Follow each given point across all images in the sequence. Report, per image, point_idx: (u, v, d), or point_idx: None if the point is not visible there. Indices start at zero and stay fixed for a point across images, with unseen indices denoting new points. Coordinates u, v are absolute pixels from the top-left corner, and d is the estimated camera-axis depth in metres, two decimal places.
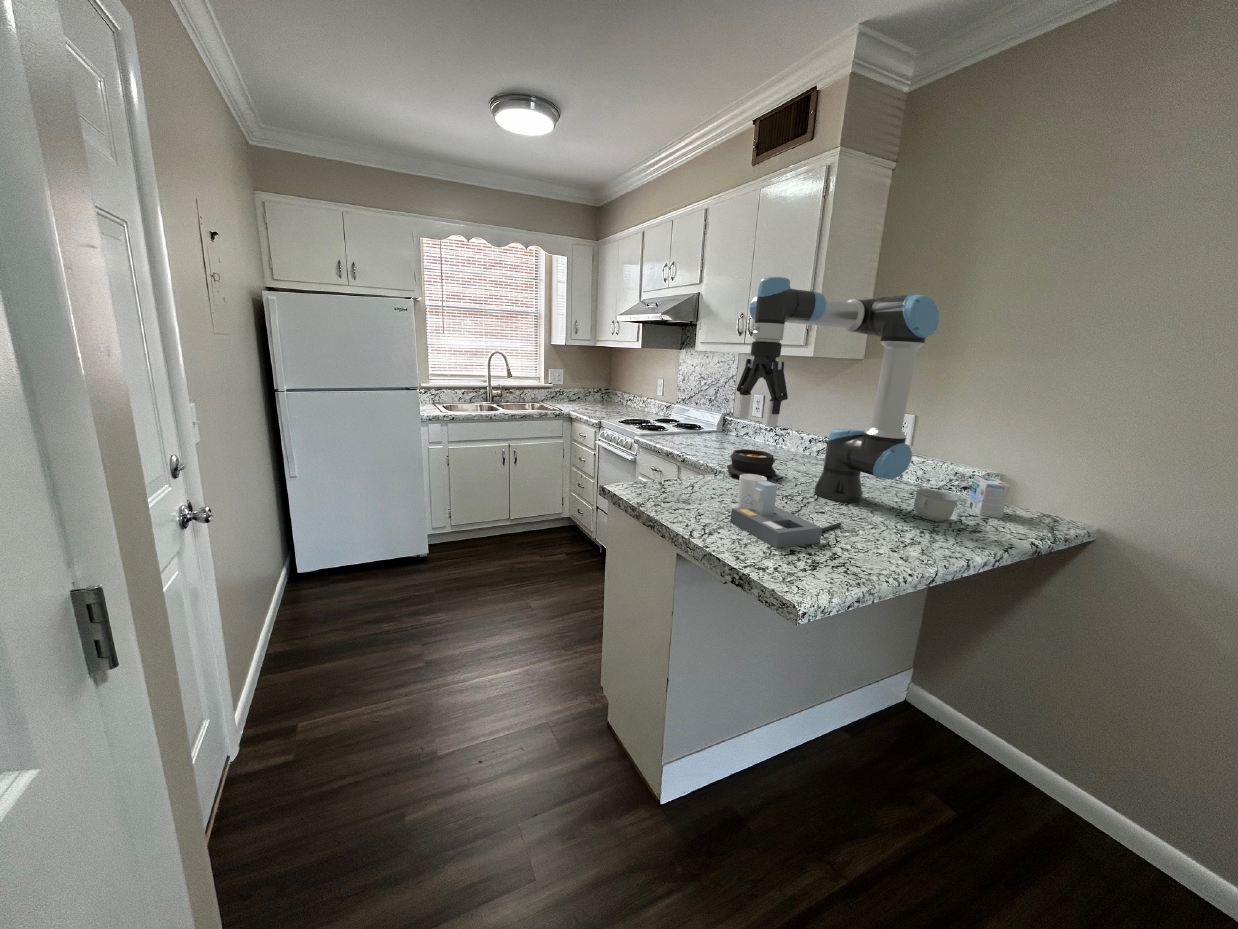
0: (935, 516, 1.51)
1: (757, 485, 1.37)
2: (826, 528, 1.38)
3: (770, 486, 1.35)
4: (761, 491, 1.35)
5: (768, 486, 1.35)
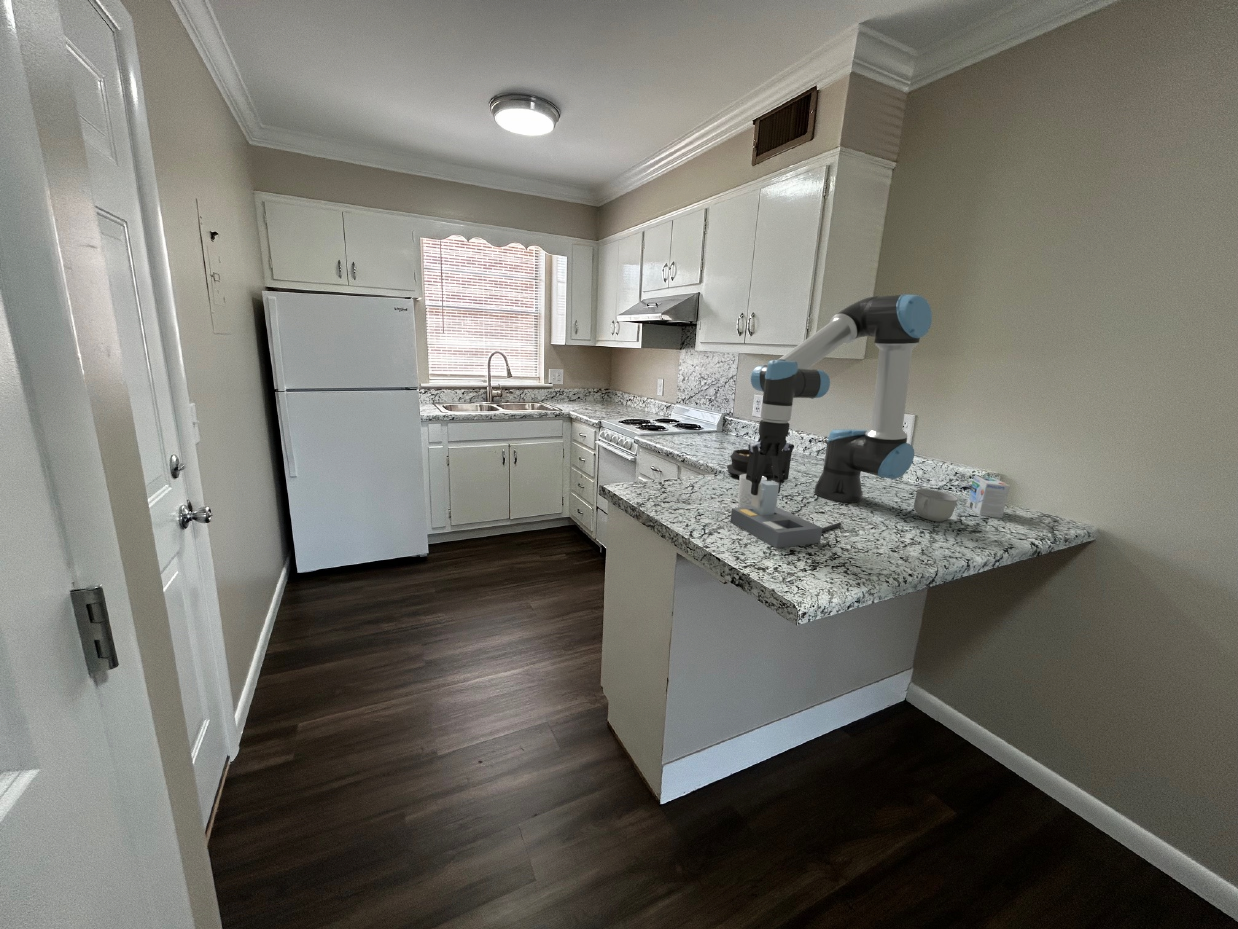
0: (935, 516, 1.51)
1: None
2: (826, 528, 1.38)
3: (771, 486, 1.35)
4: (762, 490, 1.35)
5: (769, 485, 1.35)
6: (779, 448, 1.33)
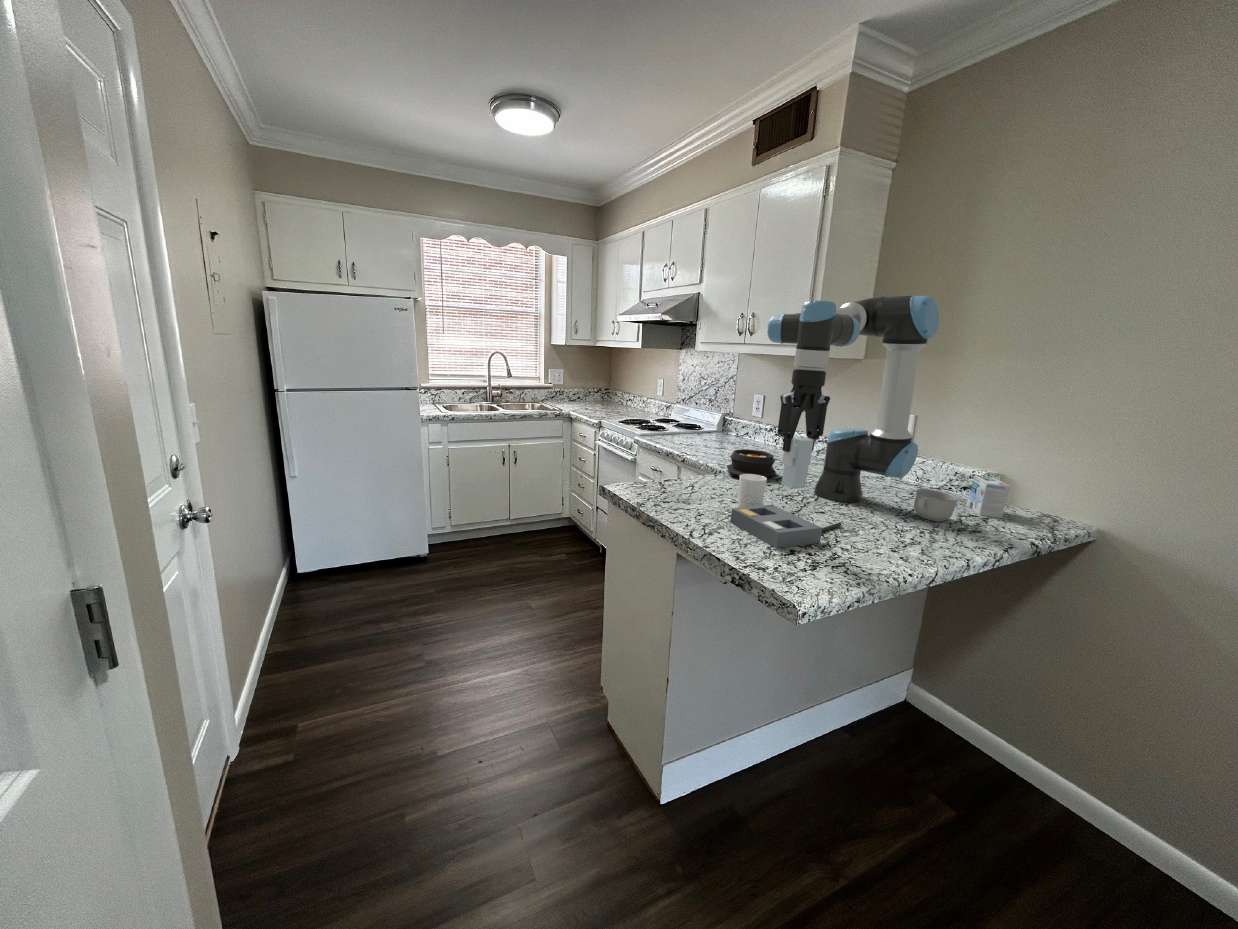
0: (935, 516, 1.51)
1: None
2: (826, 528, 1.38)
3: (805, 441, 1.23)
4: (795, 446, 1.23)
5: (803, 441, 1.23)
6: (815, 400, 1.21)
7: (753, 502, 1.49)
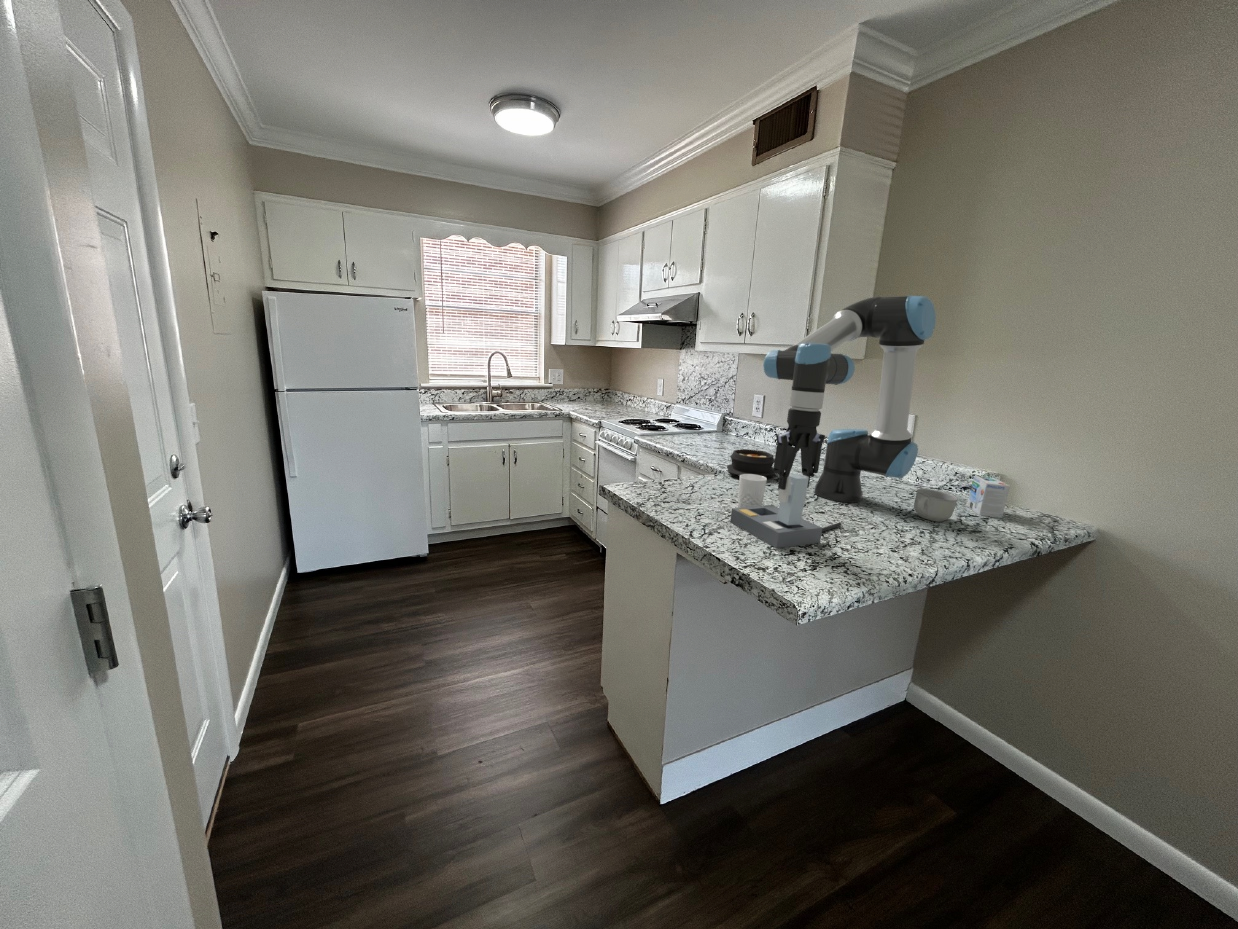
0: (935, 516, 1.51)
1: None
2: (826, 528, 1.38)
3: (801, 479, 1.25)
4: (791, 484, 1.25)
5: (799, 479, 1.25)
6: (810, 439, 1.23)
7: (753, 502, 1.49)
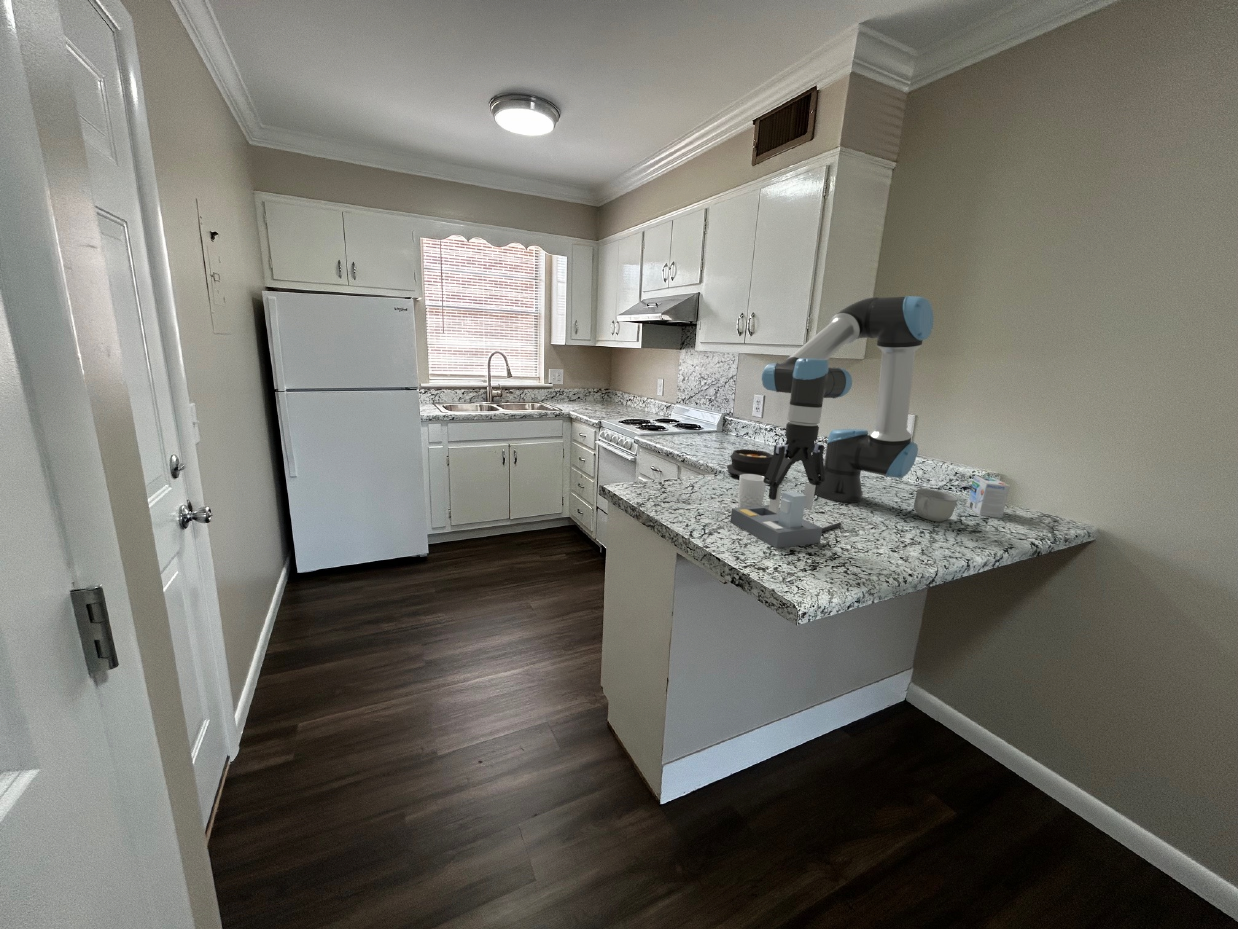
0: (935, 516, 1.51)
1: (784, 496, 1.29)
2: (826, 528, 1.38)
3: (798, 497, 1.26)
4: (789, 502, 1.27)
5: (796, 497, 1.26)
6: (809, 453, 1.24)
7: (753, 502, 1.49)
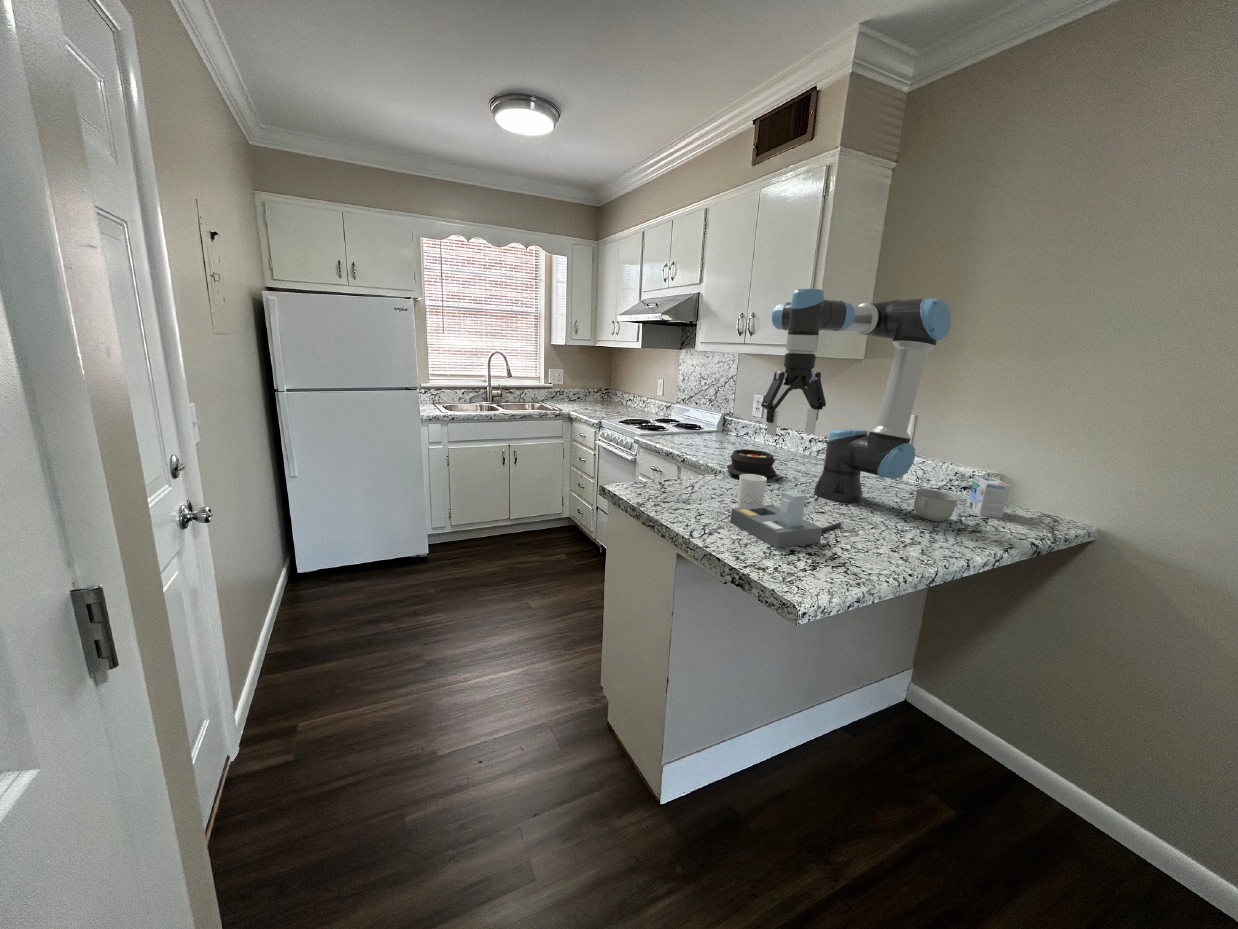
0: (935, 516, 1.51)
1: (784, 496, 1.29)
2: (826, 528, 1.38)
3: (798, 497, 1.26)
4: (789, 502, 1.27)
5: (796, 497, 1.26)
6: (807, 381, 1.31)
7: (753, 502, 1.49)
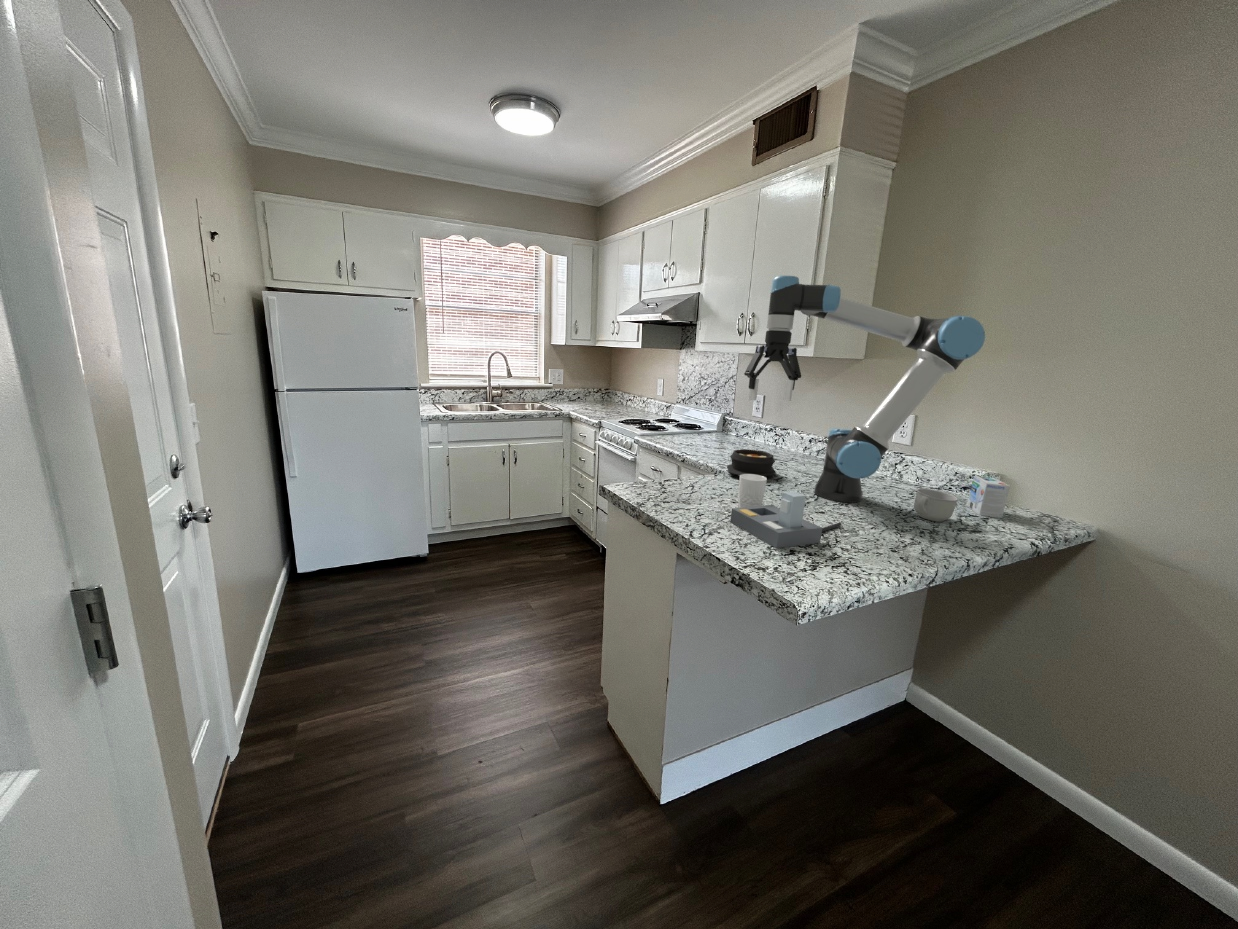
0: (935, 516, 1.51)
1: (784, 496, 1.29)
2: (826, 528, 1.38)
3: (798, 497, 1.26)
4: (789, 502, 1.27)
5: (796, 497, 1.26)
6: (784, 354, 1.55)
7: (753, 502, 1.49)
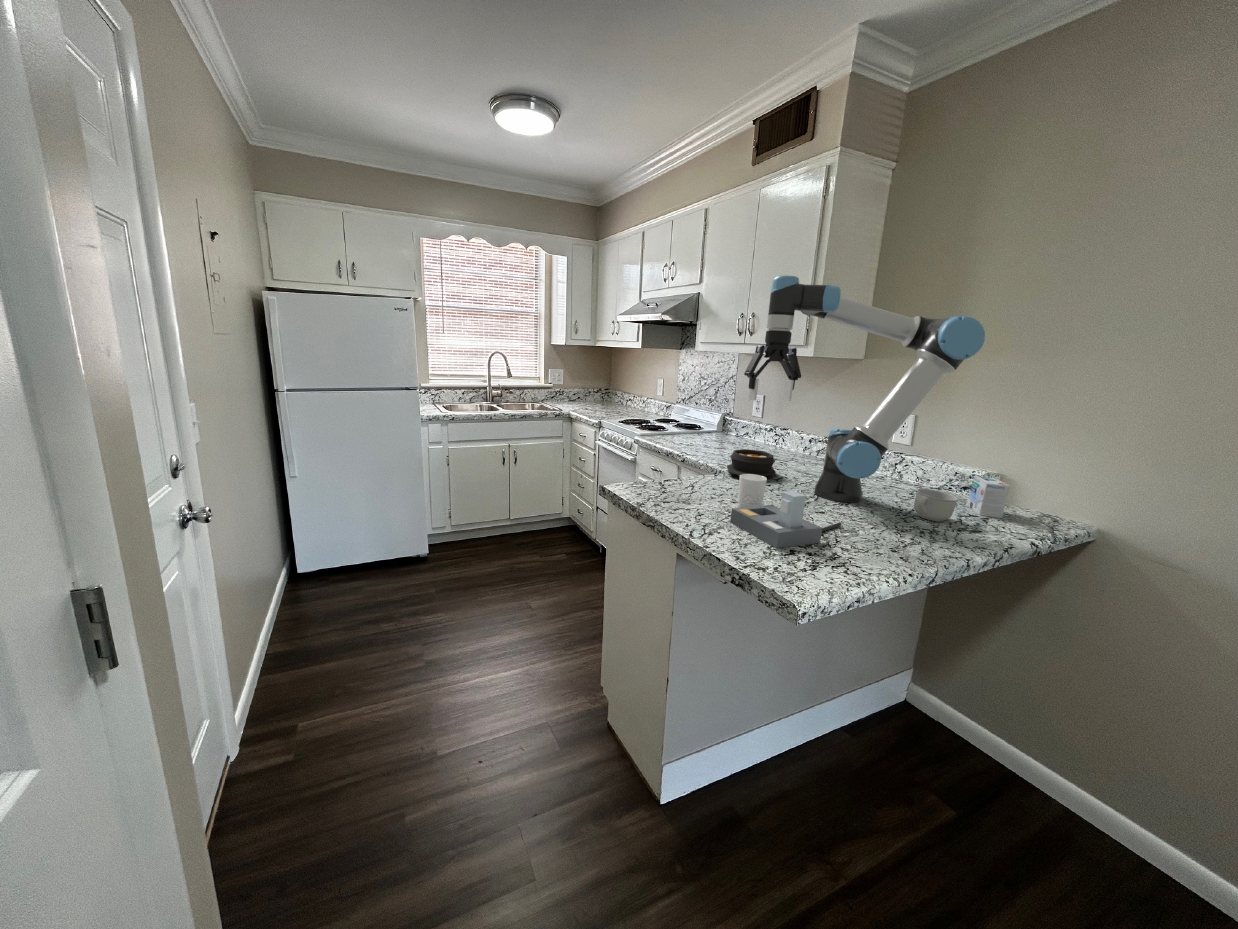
0: (935, 516, 1.51)
1: (784, 496, 1.29)
2: (826, 528, 1.38)
3: (798, 497, 1.26)
4: (789, 502, 1.27)
5: (796, 497, 1.26)
6: (784, 354, 1.55)
7: (753, 502, 1.49)
